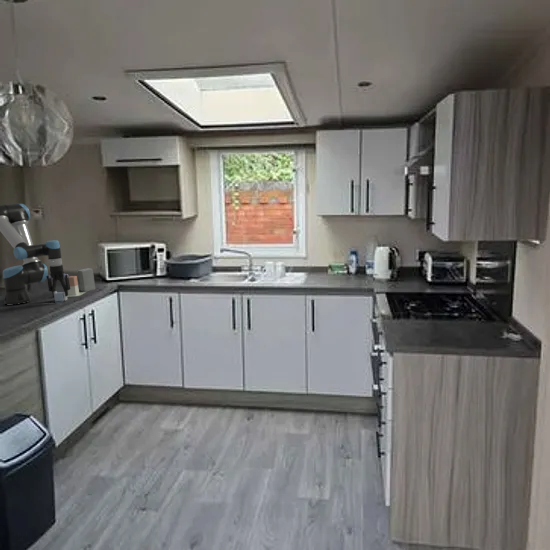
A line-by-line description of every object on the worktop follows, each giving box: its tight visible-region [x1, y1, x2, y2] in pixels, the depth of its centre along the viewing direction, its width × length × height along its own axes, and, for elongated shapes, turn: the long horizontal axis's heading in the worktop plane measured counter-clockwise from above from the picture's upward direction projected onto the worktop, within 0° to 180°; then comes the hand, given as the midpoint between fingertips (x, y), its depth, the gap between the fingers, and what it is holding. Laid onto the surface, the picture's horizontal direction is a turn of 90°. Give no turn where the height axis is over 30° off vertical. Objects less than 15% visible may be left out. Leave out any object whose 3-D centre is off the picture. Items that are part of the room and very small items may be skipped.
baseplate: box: [67, 291, 87, 298], centre depth 321 cm, size 12×12×1 cm
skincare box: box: [77, 267, 96, 292], centre depth 332 cm, size 8×7×16 cm
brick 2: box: [69, 275, 79, 286], centre depth 319 cm, size 5×5×6 cm
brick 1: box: [54, 291, 66, 304], centre depth 305 cm, size 5×5×6 cm
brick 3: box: [68, 284, 80, 295], centre depth 320 cm, size 5×5×6 cm
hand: (61, 301), depth 305 cm, fingers open, 5 cm apart
